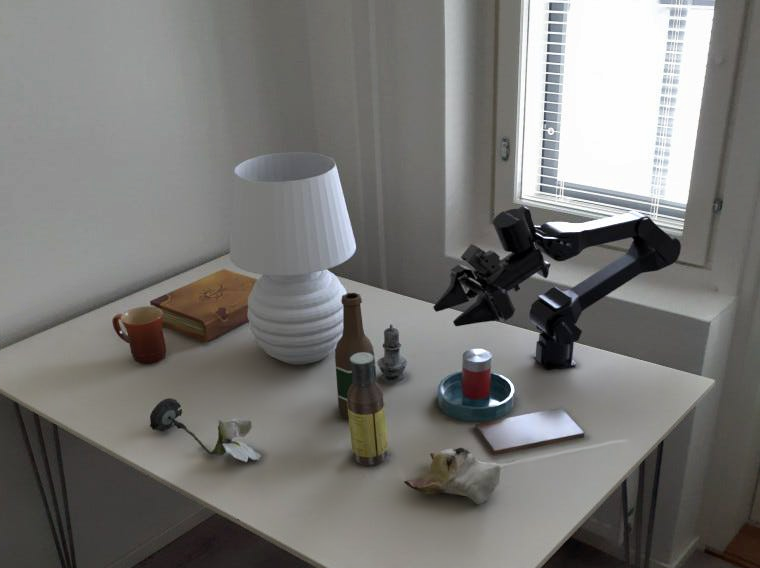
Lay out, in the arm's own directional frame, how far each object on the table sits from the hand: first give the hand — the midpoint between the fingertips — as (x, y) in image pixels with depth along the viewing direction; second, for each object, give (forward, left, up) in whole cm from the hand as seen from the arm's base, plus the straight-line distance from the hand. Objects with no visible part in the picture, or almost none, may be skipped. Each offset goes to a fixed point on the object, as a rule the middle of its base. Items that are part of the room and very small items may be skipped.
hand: (444, 316), depth 160 cm
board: (-9, +20, -16) cm, 27 cm away
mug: (+56, -35, -16) cm, 68 cm away
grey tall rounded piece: (+8, -8, -16) cm, 20 cm away
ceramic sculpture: (+9, +31, -16) cm, 36 cm away
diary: (+38, -50, -16) cm, 65 cm away
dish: (-4, +7, -16) cm, 18 cm away
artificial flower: (+46, +4, -16) cm, 49 cm away
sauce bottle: (+20, +17, -16) cm, 31 cm away
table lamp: (+23, -25, -16) cm, 38 cm away
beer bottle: (+18, +2, -16) cm, 24 cm away
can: (-4, +7, -16) cm, 17 cm away
